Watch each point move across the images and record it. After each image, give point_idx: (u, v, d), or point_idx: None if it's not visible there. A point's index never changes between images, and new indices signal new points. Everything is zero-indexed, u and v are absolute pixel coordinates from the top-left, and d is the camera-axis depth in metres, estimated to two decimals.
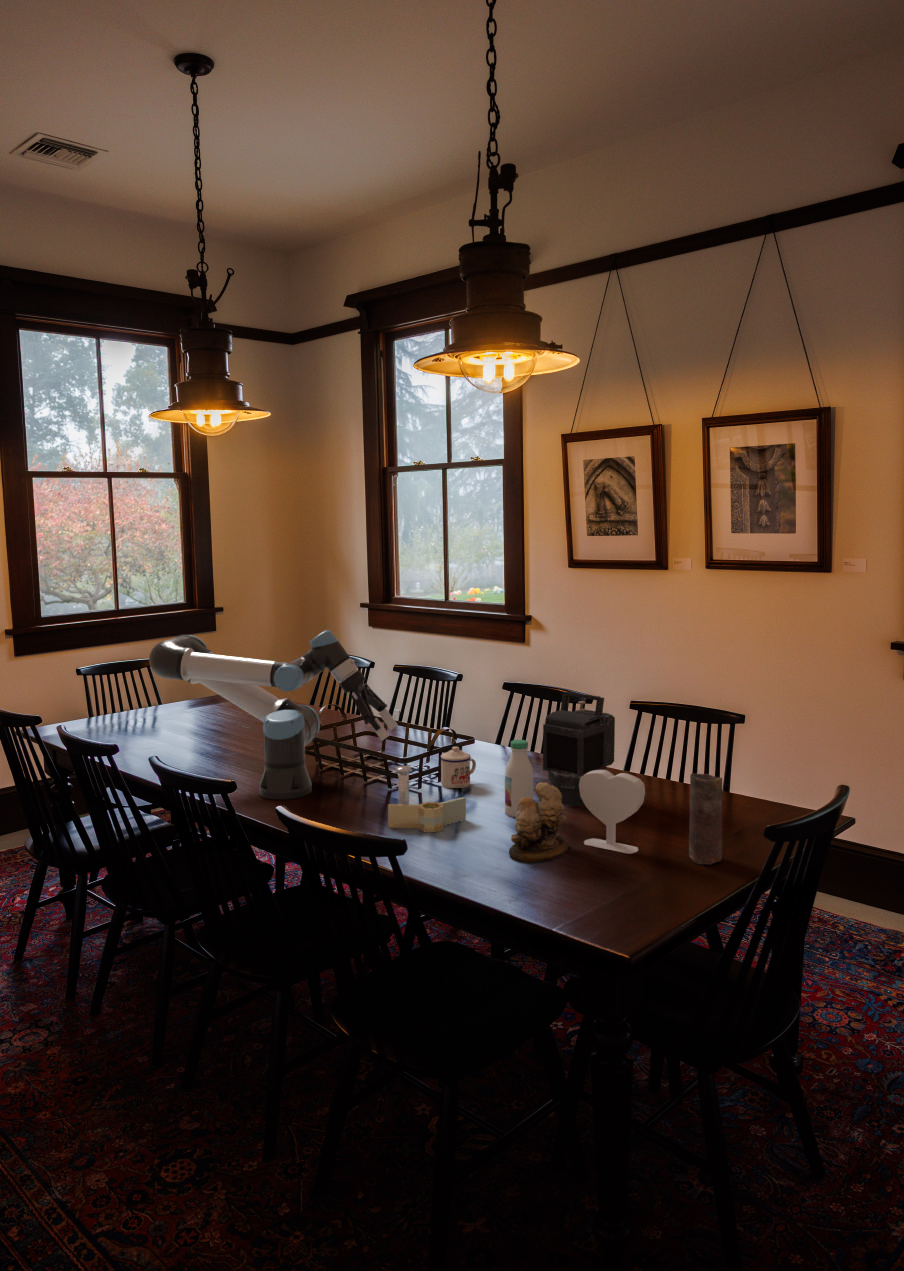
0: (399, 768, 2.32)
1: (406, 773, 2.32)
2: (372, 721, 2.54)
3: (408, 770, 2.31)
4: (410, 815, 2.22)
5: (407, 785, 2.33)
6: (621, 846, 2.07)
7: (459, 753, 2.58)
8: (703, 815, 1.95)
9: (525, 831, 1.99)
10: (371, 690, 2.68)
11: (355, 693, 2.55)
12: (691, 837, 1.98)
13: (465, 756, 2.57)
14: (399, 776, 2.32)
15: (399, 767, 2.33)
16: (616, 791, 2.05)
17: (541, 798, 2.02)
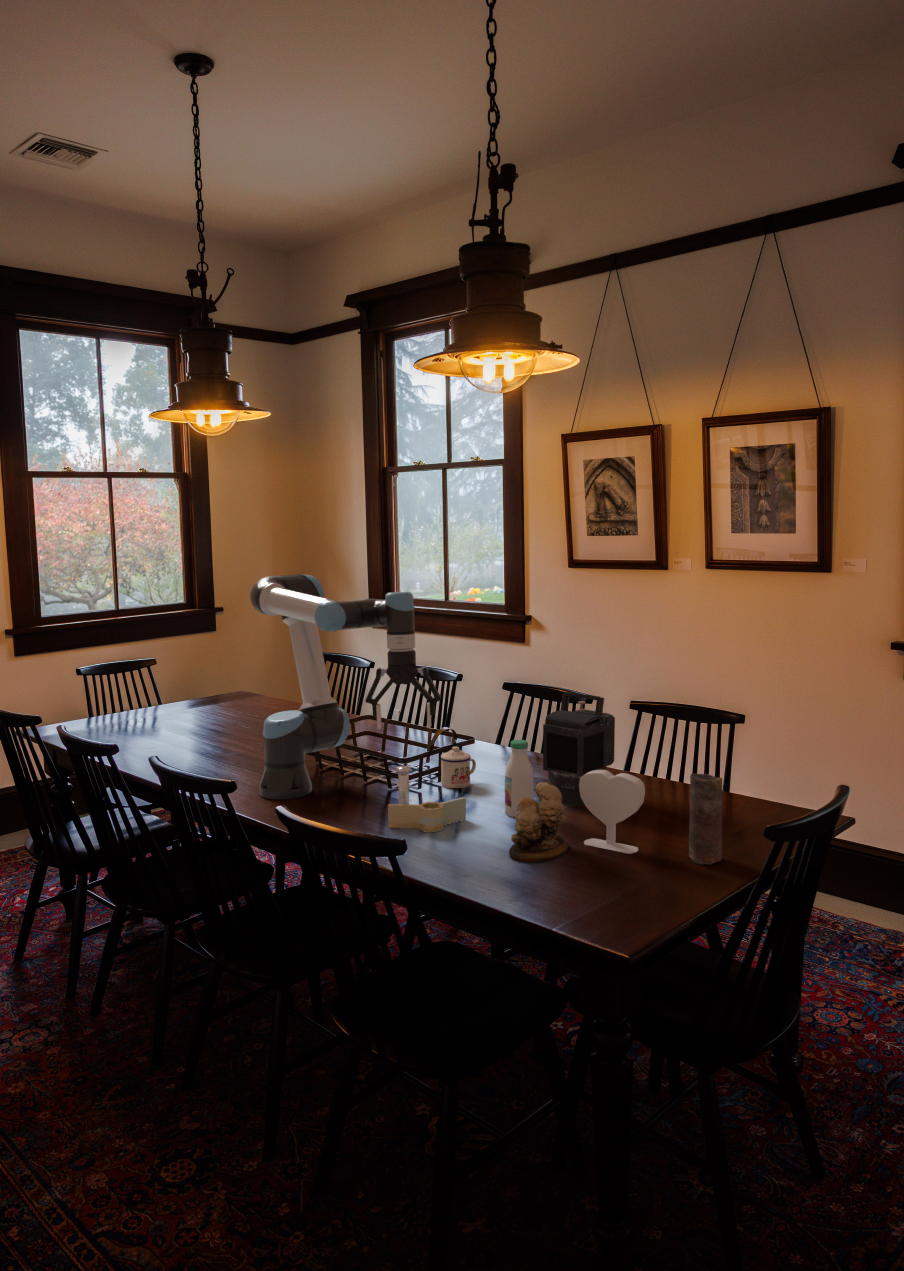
0: (399, 768, 2.32)
1: (406, 773, 2.32)
2: None
3: (408, 770, 2.31)
4: (410, 815, 2.22)
5: (407, 785, 2.33)
6: (621, 846, 2.07)
7: (459, 753, 2.58)
8: (703, 815, 1.95)
9: (525, 831, 1.99)
10: (426, 678, 2.31)
11: (376, 670, 2.32)
12: (691, 837, 1.98)
13: (465, 756, 2.57)
14: (399, 776, 2.32)
15: (399, 767, 2.33)
16: (616, 791, 2.05)
17: (541, 798, 2.02)
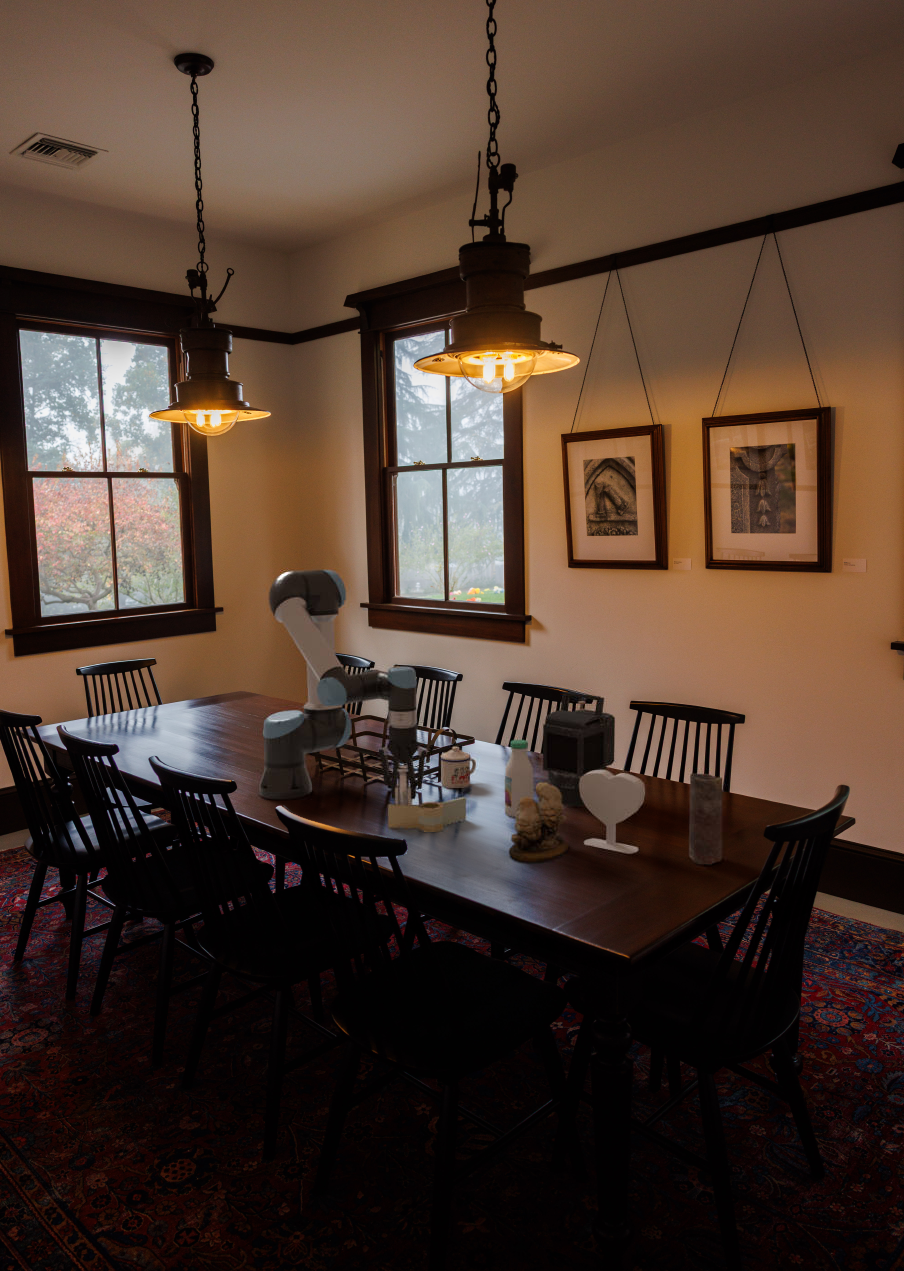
0: (399, 768, 2.32)
1: (406, 773, 2.32)
2: None
3: None
4: (410, 815, 2.22)
5: (407, 785, 2.33)
6: (621, 846, 2.07)
7: (459, 753, 2.58)
8: (703, 815, 1.95)
9: (525, 831, 1.99)
10: (421, 760, 2.31)
11: None
12: (691, 837, 1.98)
13: (465, 756, 2.57)
14: (399, 776, 2.32)
15: (399, 767, 2.33)
16: (616, 791, 2.05)
17: (541, 798, 2.02)
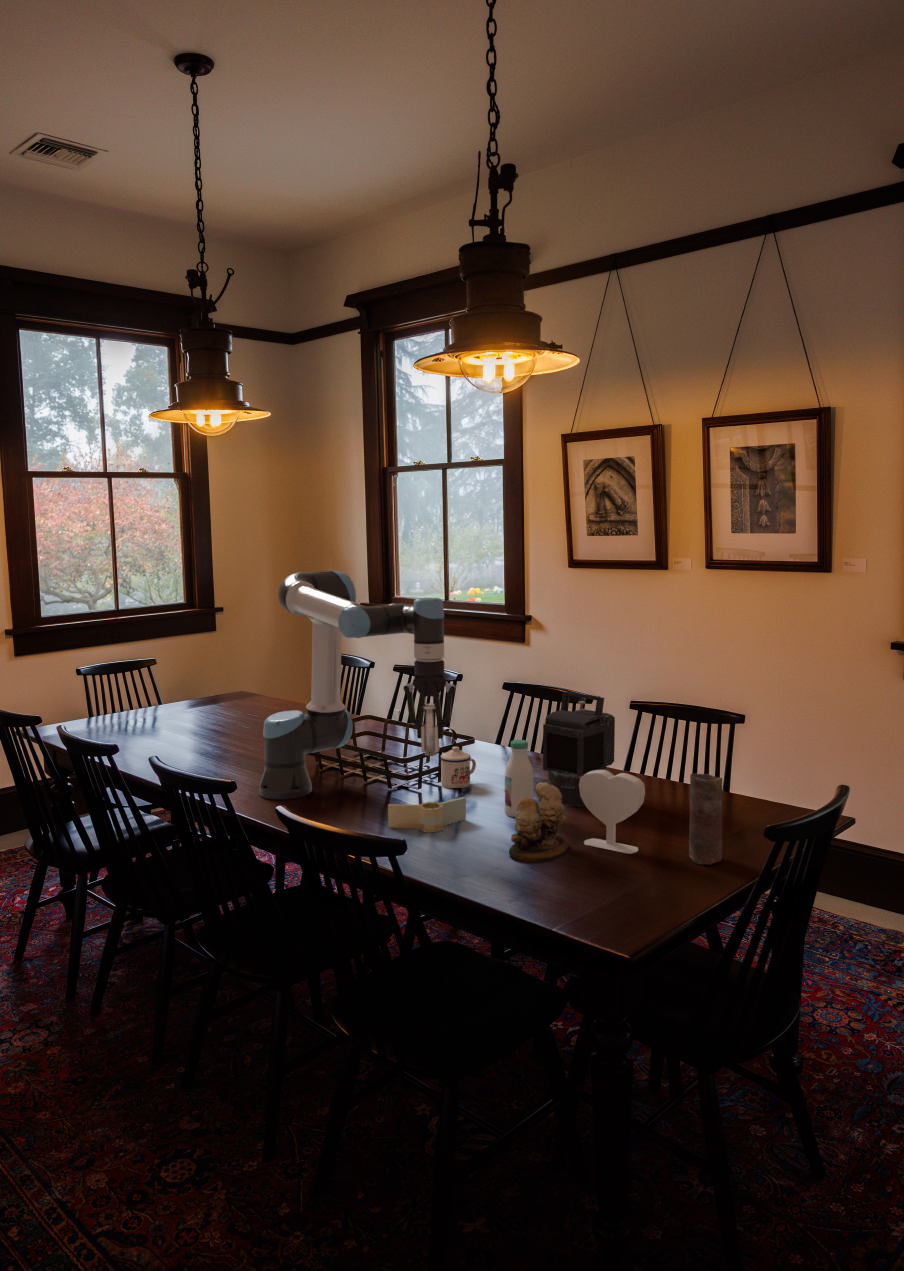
0: (425, 705, 2.18)
1: (433, 711, 2.18)
2: None
3: (435, 707, 2.17)
4: (410, 815, 2.22)
5: (434, 723, 2.18)
6: (621, 846, 2.07)
7: (459, 753, 2.58)
8: (703, 815, 1.95)
9: (525, 831, 1.99)
10: (449, 697, 2.17)
11: None
12: (691, 837, 1.98)
13: (465, 756, 2.57)
14: (425, 714, 2.18)
15: (425, 704, 2.19)
16: (616, 791, 2.05)
17: (541, 798, 2.02)
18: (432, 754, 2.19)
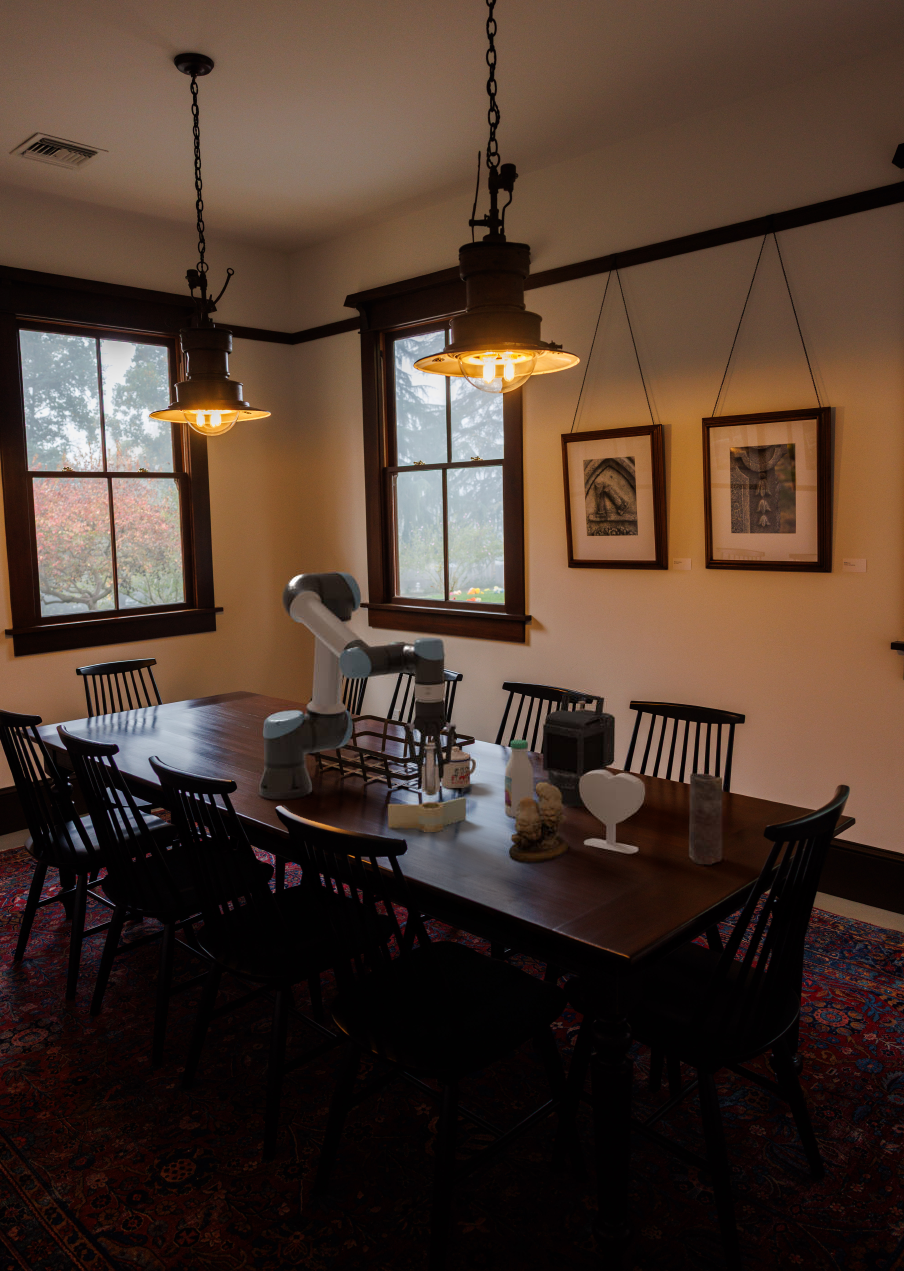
0: (426, 745, 2.19)
1: (433, 750, 2.19)
2: None
3: None
4: (410, 815, 2.22)
5: (434, 763, 2.19)
6: (621, 846, 2.07)
7: (459, 753, 2.58)
8: (702, 815, 1.95)
9: (525, 831, 1.99)
10: (449, 737, 2.18)
11: None
12: (691, 837, 1.98)
13: (465, 756, 2.57)
14: (426, 753, 2.19)
15: (426, 744, 2.20)
16: (616, 791, 2.05)
17: (541, 798, 2.02)
18: (432, 793, 2.20)
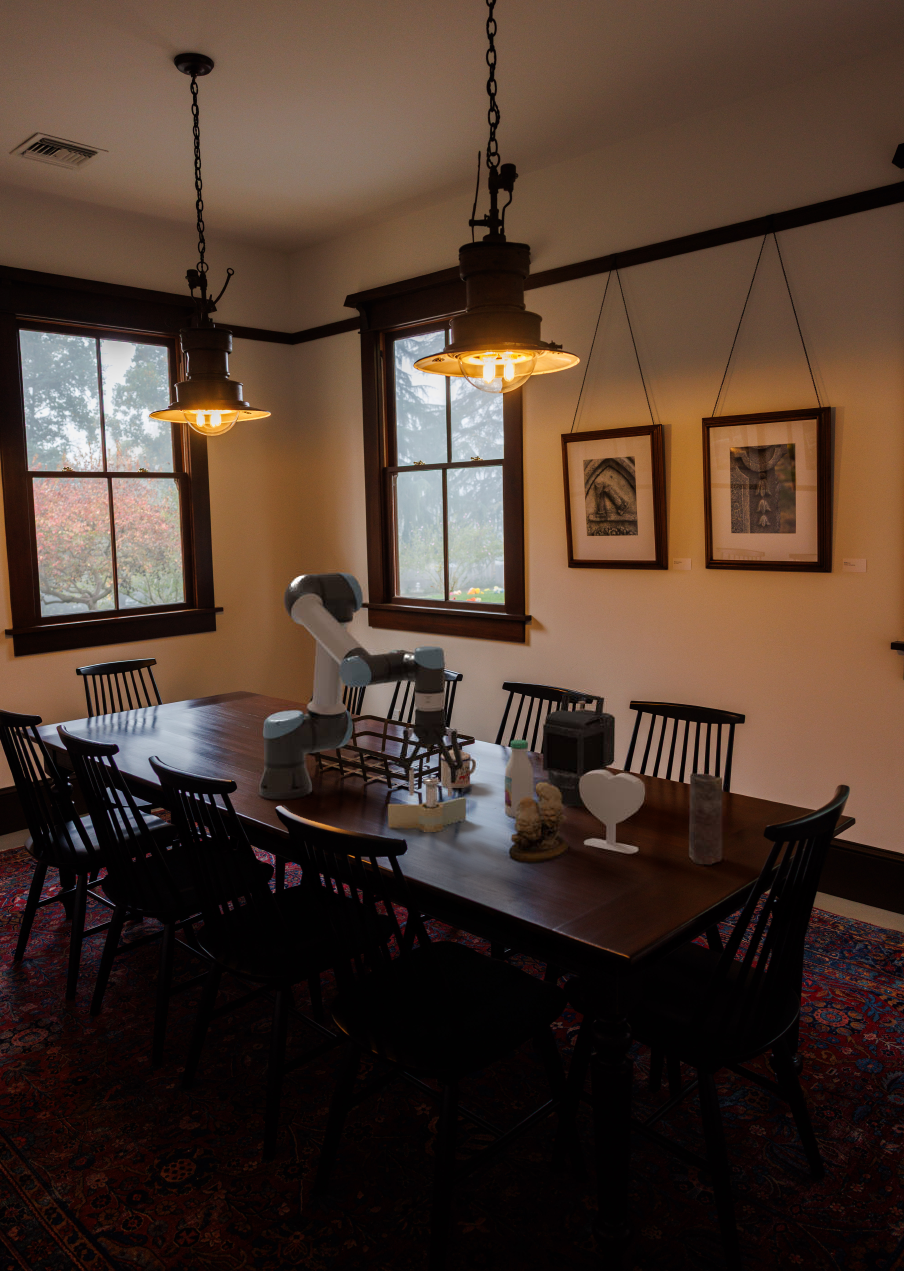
0: (427, 780, 2.20)
1: (434, 786, 2.20)
2: None
3: (437, 783, 2.20)
4: (410, 815, 2.22)
5: (435, 798, 2.21)
6: (621, 846, 2.07)
7: None
8: (703, 815, 1.95)
9: (525, 831, 1.99)
10: (453, 742, 2.18)
11: None
12: (691, 837, 1.98)
13: (465, 756, 2.57)
14: (427, 789, 2.20)
15: (427, 779, 2.21)
16: (616, 791, 2.05)
17: (541, 798, 2.02)
18: None
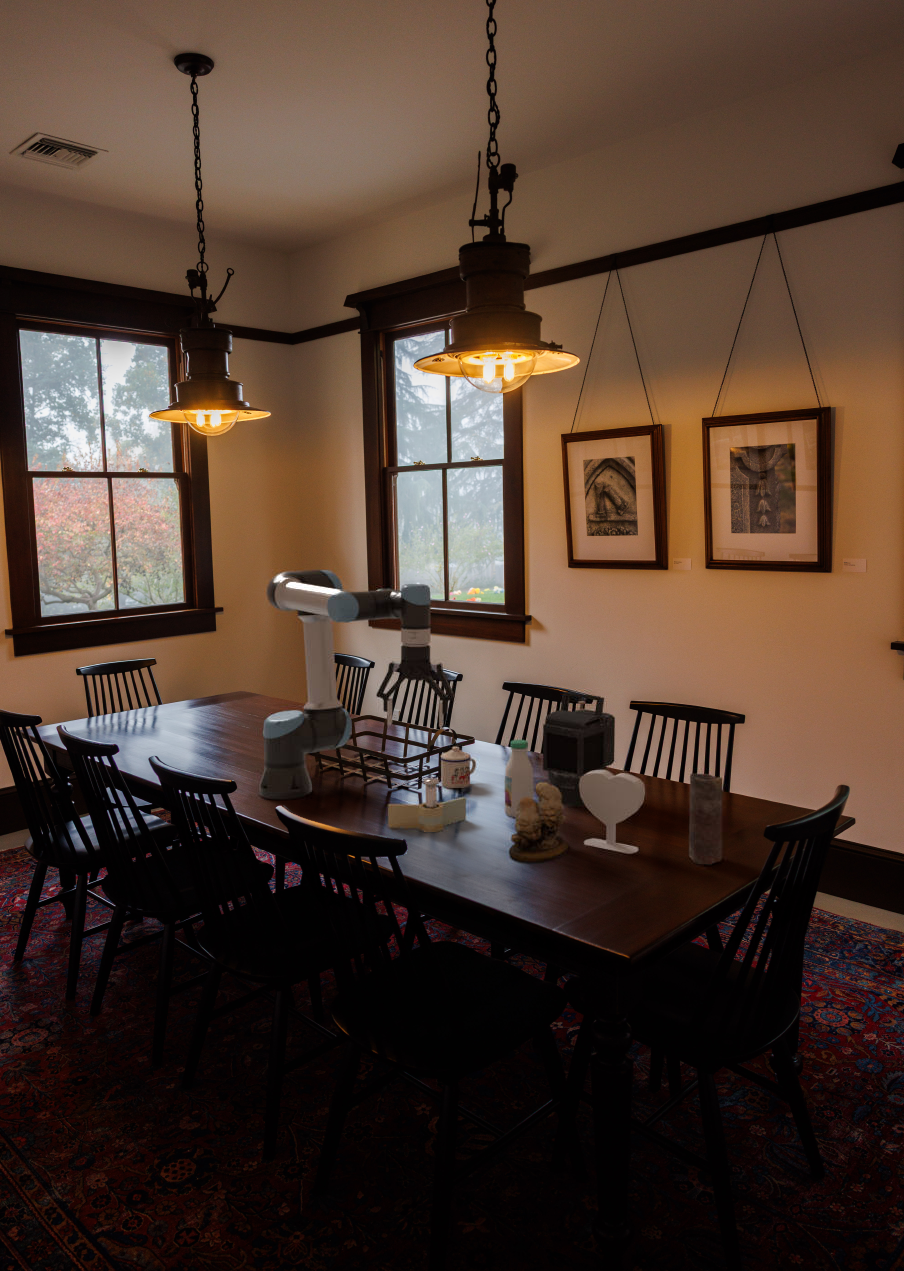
0: (427, 780, 2.20)
1: (434, 786, 2.20)
2: None
3: (436, 783, 2.20)
4: (410, 815, 2.22)
5: (435, 798, 2.21)
6: (621, 846, 2.07)
7: (459, 753, 2.58)
8: (703, 815, 1.95)
9: (525, 831, 1.99)
10: (440, 675, 2.22)
11: None
12: (691, 837, 1.98)
13: (465, 756, 2.57)
14: (427, 789, 2.20)
15: (426, 779, 2.21)
16: (616, 791, 2.05)
17: (541, 798, 2.02)
18: None
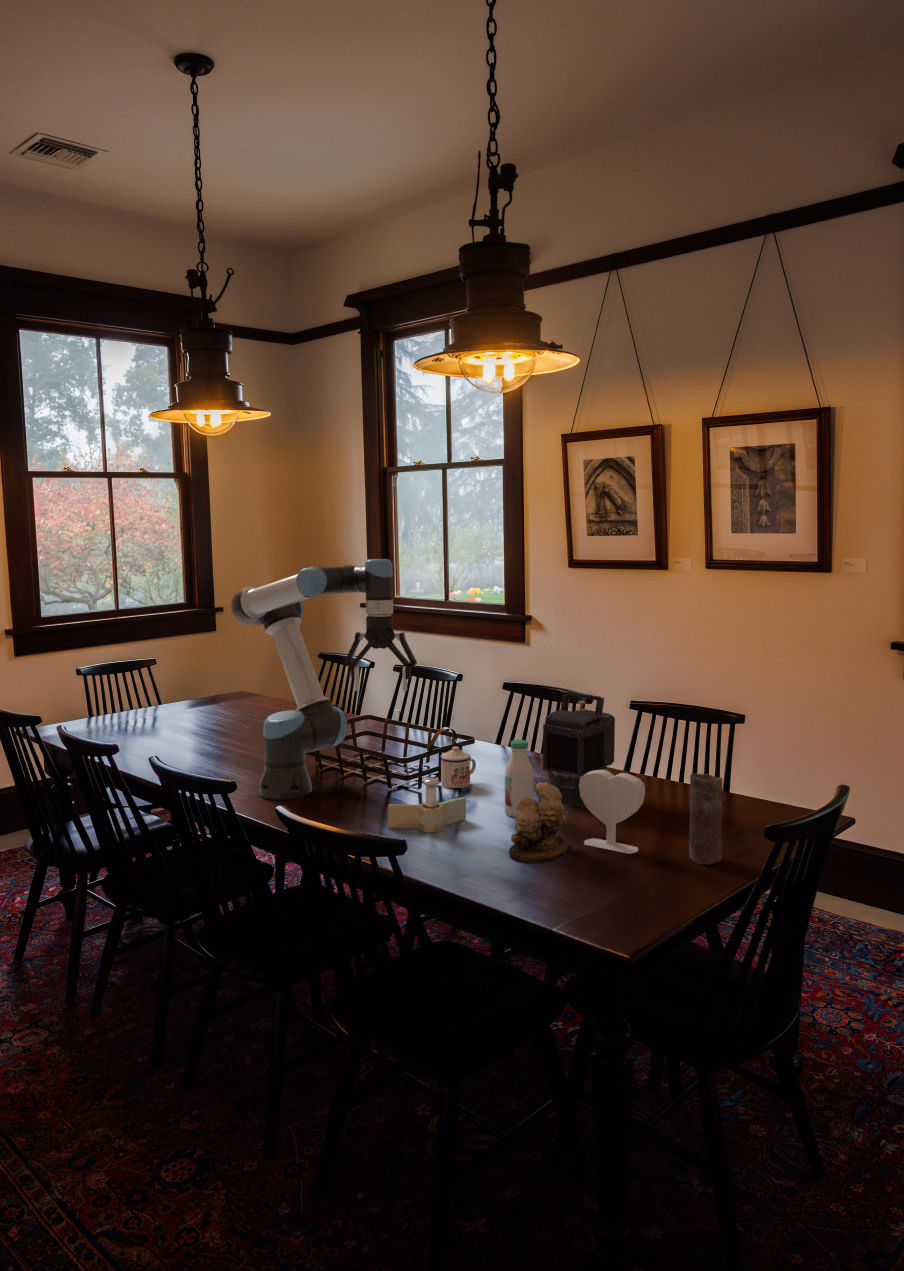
0: (427, 780, 2.20)
1: (434, 786, 2.20)
2: None
3: (436, 783, 2.20)
4: (410, 815, 2.22)
5: (435, 798, 2.21)
6: (621, 846, 2.07)
7: (459, 753, 2.58)
8: (703, 815, 1.95)
9: (525, 831, 1.99)
10: (402, 643, 2.39)
11: None
12: (691, 837, 1.98)
13: (465, 756, 2.57)
14: (426, 789, 2.20)
15: (426, 779, 2.21)
16: (616, 791, 2.05)
17: (541, 798, 2.02)
18: None
